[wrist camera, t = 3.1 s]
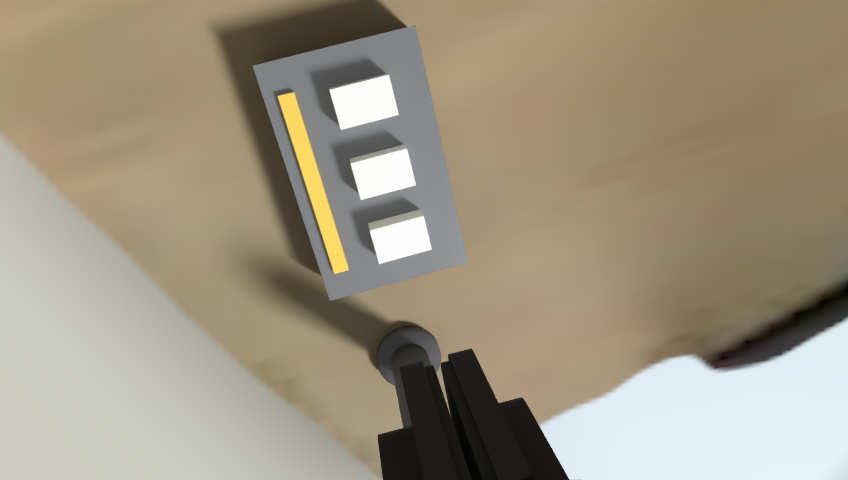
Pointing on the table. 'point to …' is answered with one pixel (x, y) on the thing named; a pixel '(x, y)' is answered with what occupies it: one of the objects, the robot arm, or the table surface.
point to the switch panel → (364, 140)
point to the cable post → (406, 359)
